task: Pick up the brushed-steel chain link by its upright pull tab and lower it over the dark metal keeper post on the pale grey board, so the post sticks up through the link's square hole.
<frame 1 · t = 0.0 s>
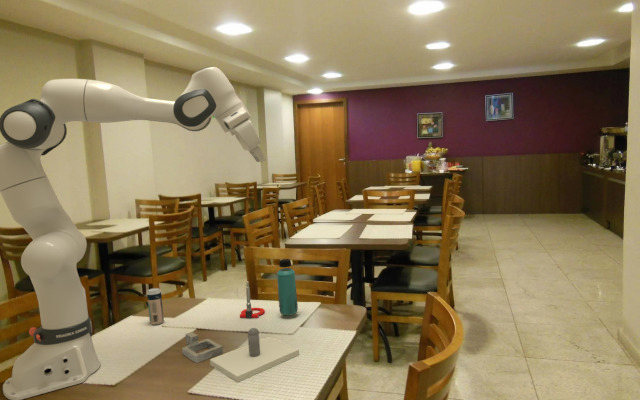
hand: (261, 161, 130), 54 cm above the table, tool tilted 30°, fingers open, 8 cm apart
beer can: (157, 323, 156), on the table
tow hook: (252, 314, 160), on the table
steel link: (202, 353, 129), on the table
beverage bottle: (288, 316, 156), on the table
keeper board: (255, 359, 124), on the table
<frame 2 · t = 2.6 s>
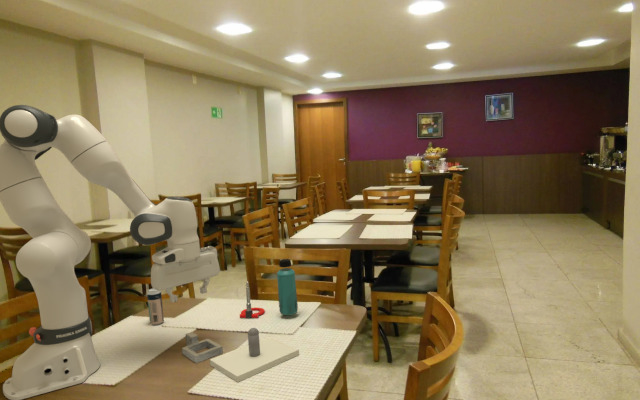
hand: (189, 297, 132), 16 cm above the table, tool pointing down, fingers open, 8 cm apart
nothing on the table moved.
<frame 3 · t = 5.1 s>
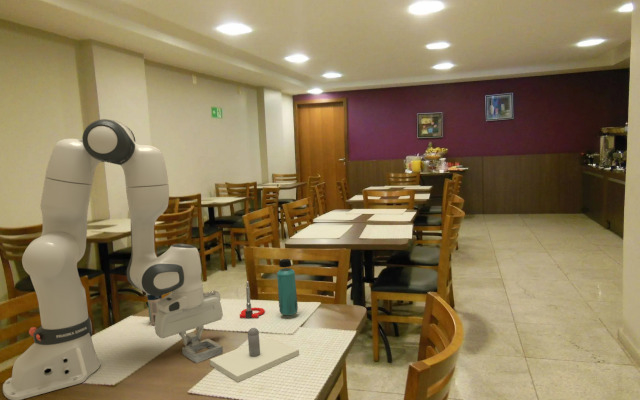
hand: (192, 342, 134), 2 cm above the table, tool pointing down, fingers closed on steel link, 2 cm apart
steel link: (202, 353, 129), on the table, touching gripper
everything else where it was.
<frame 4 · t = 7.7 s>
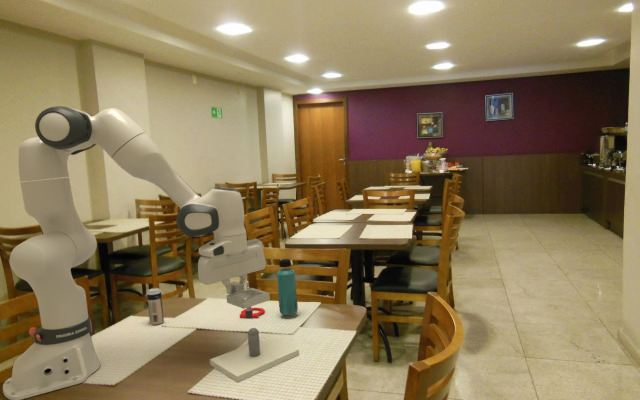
hand: (235, 291, 127), 18 cm above the table, tool pointing down, fingers closed on steel link
steel link: (248, 301, 123), point 16 cm above the table, touching gripper
everything else where it was.
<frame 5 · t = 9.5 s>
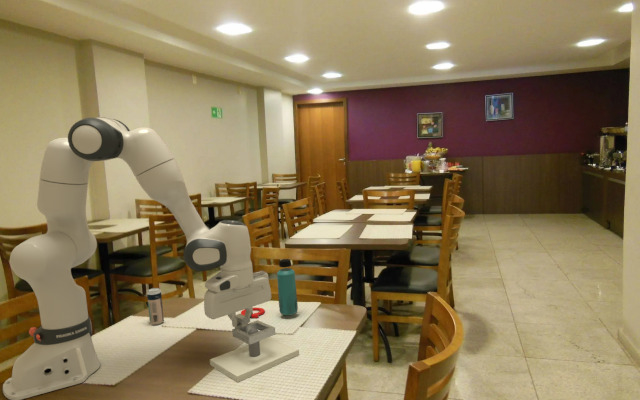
hand: (241, 324, 127), 9 cm above the table, tool pointing down, fingers closed on steel link
steel link: (254, 335, 123), point 7 cm above the table, touching gripper
everything else where it was.
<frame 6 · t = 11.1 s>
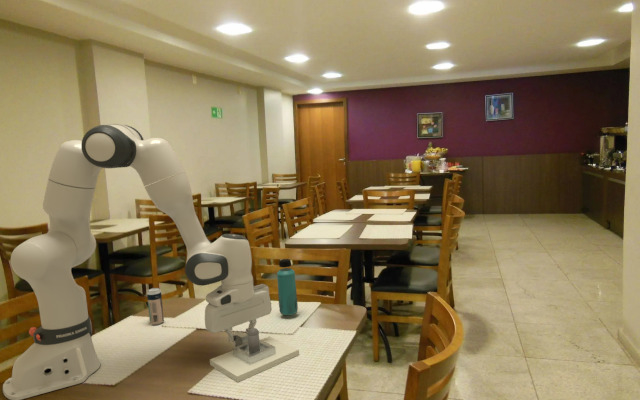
hand: (241, 337, 128), 5 cm above the table, tool pointing down, fingers open, 4 cm apart
steel link: (254, 354, 124), point 1 cm above the table, touching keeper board
everything else where it was.
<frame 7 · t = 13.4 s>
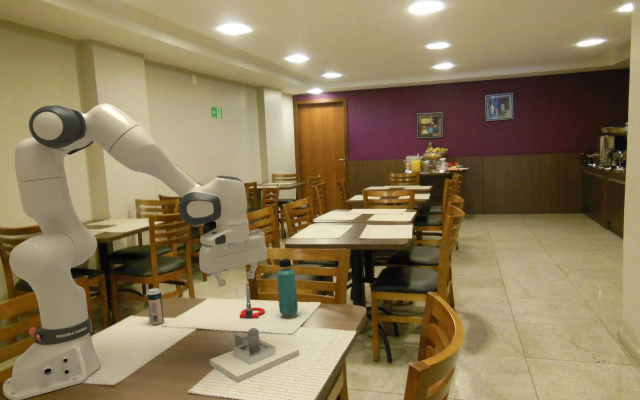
hand: (236, 282, 126), 21 cm above the table, tool pointing down, fingers open, 8 cm apart
nothing on the table moved.
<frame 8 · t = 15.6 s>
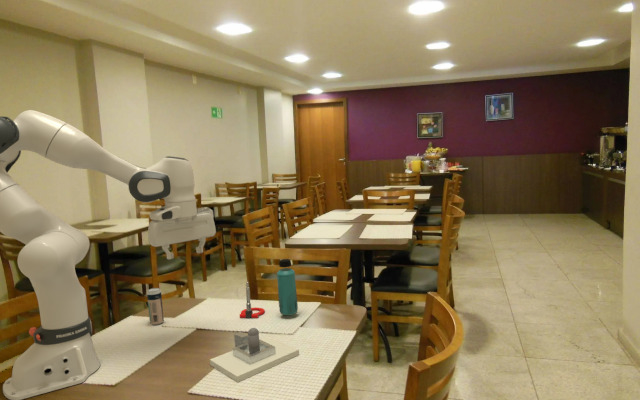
hand: (185, 255, 135), 27 cm above the table, tool pointing down, fingers open, 8 cm apart
nothing on the table moved.
at the end: steel link 0.1 cm off-centre on the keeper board, point 1.5 cm above the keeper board's base; steel link tilted 0°; the gripper is holding nothing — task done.
